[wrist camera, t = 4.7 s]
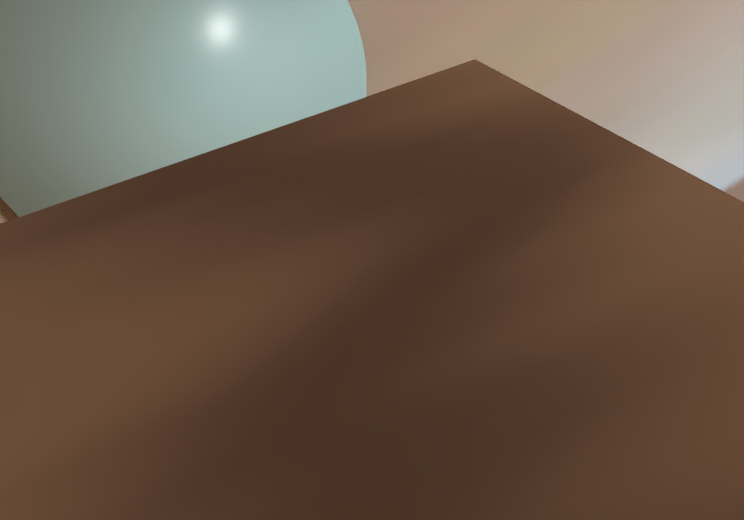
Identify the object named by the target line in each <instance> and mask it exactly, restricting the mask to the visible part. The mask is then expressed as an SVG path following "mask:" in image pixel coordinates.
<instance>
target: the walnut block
mask: <svg viewBox="0 0 744 520" xmlns="http://www.w3.org/2000/svg"><path fill="white" fill-rule="evenodd" d="M0 520H744V202H742V201H740V200H738V199H736V198H735V197H733V196H731V195H729V194H727V193H725V192H723V191H721V190H720V189H718V188H716V187H714V186H712V185H710V184H708V183H706V182H705V181H703V180H701V179H699V178H697V177H695V176H693V175H691V174H690V173H688V172H686V171H684V170H682V169H680V168H678V167H676V166H675V165H673V164H671V163H669V162H667V161H665V160H663V159H661V158H659V157H658V156H656V155H654V154H652V153H650V152H648V151H646V150H644V149H643V148H641V147H639V146H637V145H635V144H633V143H631V142H629V141H628V140H626V139H624V138H622V137H620V136H618V135H616V134H614V133H612V132H611V131H609V130H607V129H605V128H603V127H601V126H599V125H597V124H596V123H594V122H592V121H590V120H588V119H586V118H584V117H582V116H581V115H579V114H577V113H575V112H573V111H571V110H569V109H567V108H566V107H564V106H562V105H560V104H558V103H556V102H554V101H552V100H550V99H549V98H547V97H545V96H543V95H541V94H539V93H537V92H535V91H534V90H532V89H530V88H528V87H526V86H524V85H522V84H520V83H519V82H517V81H515V80H513V79H511V78H509V77H507V76H505V75H503V74H502V73H500V72H498V71H496V70H494V69H492V68H490V67H488V66H487V65H485V64H483V63H481V62H479V61H477V60H472V61H469V62H466V63H463V64H460V65H457V66H454V67H452V68H449V69H446V70H443V71H440V72H437V73H434V74H431V75H428V76H426V77H423V78H420V79H417V80H414V81H411V82H408V83H405V84H402V85H400V86H397V87H394V88H391V89H388V90H385V91H382V92H379V93H376V94H374V95H371V96H368V97H365V98H362V99H359V100H356V101H353V102H350V103H348V104H345V105H342V106H339V107H336V108H333V109H330V110H327V111H324V112H322V113H319V114H316V115H313V116H310V117H307V118H304V119H301V120H298V121H296V122H293V123H290V124H287V125H284V126H281V127H278V128H275V129H272V130H270V131H267V132H264V133H261V134H258V135H255V136H252V137H249V138H246V139H244V140H241V141H238V142H235V143H232V144H229V145H226V146H223V147H220V148H218V149H215V150H212V151H209V152H206V153H203V154H200V155H197V156H194V157H192V158H189V159H186V160H183V161H180V162H177V163H174V164H171V165H168V166H166V167H163V168H160V169H157V170H154V171H151V172H148V173H145V174H142V175H140V176H137V177H134V178H131V179H128V180H125V181H122V182H119V183H116V184H114V185H111V186H108V187H105V188H102V189H99V190H96V191H93V192H90V193H88V194H85V195H82V196H79V197H76V198H73V199H70V200H67V201H64V202H62V203H59V204H56V205H53V206H50V207H47V208H44V209H41V210H38V211H36V212H33V213H30V214H27V215H24V216H21V217H18V218H15V219H12V220H10V221H7V222H4V223H1V224H0Z"/></svg>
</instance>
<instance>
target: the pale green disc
mask: <svg viewBox="0 0 744 520" xmlns="http://www.w3.org/2000/svg"><path fill="white" fill-rule="evenodd" d="M365 97H366V64H365V56H364V49H363V44H362V40H361V37H360V33H359V29H358V25H357V22H356V20H355V17H354V15H353V12H352V10H351V7H350V5H349V2H348V0H0V197H1V198H2V200H3V201H4V202H5V203H6V204H7V205H8V206H9V207H10V208H11V209H12V210H13V211H14V212H15V213H16V215H17V216H18V217H21V216H24V215H27V214H30V213H33V212H36V211H38V210H41V209H44V208H47V207H50V206H53V205H56V204H59V203H62V202H64V201H67V200H70V199H73V198H76V197H79V196H82V195H85V194H88V193H90V192H93V191H96V190H99V189H102V188H105V187H108V186H111V185H114V184H116V183H119V182H122V181H125V180H128V179H131V178H134V177H137V176H140V175H142V174H145V173H148V172H151V171H154V170H157V169H160V168H163V167H166V166H168V165H171V164H174V163H177V162H180V161H183V160H186V159H189V158H192V157H194V156H197V155H200V154H203V153H206V152H209V151H212V150H215V149H218V148H220V147H223V146H226V145H229V144H232V143H235V142H238V141H241V140H244V139H246V138H249V137H252V136H255V135H258V134H261V133H264V132H267V131H270V130H272V129H275V128H278V127H281V126H284V125H287V124H290V123H293V122H296V121H298V120H301V119H304V118H307V117H310V116H313V115H316V114H319V113H322V112H324V111H327V110H330V109H333V108H336V107H339V106H342V105H345V104H348V103H350V102H353V101H356V100H359V99H362V98H365Z"/></svg>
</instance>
